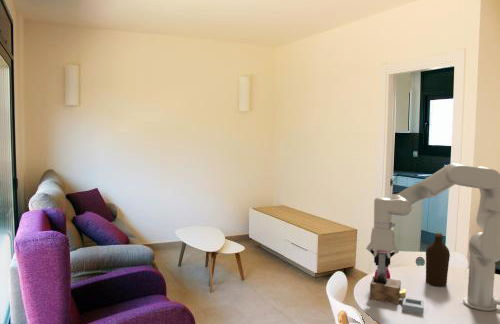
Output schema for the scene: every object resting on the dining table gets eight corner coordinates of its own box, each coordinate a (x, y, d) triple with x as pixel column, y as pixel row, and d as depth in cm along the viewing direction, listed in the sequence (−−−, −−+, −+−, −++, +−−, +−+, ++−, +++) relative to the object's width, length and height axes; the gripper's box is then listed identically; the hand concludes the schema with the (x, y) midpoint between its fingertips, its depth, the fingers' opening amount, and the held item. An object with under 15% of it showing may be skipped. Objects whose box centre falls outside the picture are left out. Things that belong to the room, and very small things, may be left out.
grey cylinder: (386, 282, 183) (387, 252, 182) (385, 285, 179) (386, 254, 178) (377, 281, 185) (378, 251, 183) (376, 284, 181) (377, 253, 180)
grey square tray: (423, 306, 172) (423, 300, 172) (423, 314, 165) (423, 308, 165) (403, 303, 176) (403, 297, 175) (402, 310, 168) (402, 304, 168)
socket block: (400, 295, 184) (400, 280, 183) (398, 304, 175) (399, 288, 174) (372, 290, 189) (373, 276, 188) (369, 298, 180) (370, 283, 179)
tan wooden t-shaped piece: (405, 297, 180) (405, 289, 180) (404, 301, 176) (405, 292, 176) (388, 294, 183) (388, 286, 183) (387, 298, 179) (387, 289, 179)
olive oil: (441, 289, 192) (444, 237, 190) (420, 282, 200) (422, 232, 198) (451, 284, 199) (454, 234, 196) (430, 277, 207) (433, 229, 205)
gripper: (403, 225, 180) (402, 265, 181) (364, 221, 187) (364, 260, 188) (402, 228, 173) (401, 270, 174) (362, 225, 180) (361, 265, 181)
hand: (382, 265), depth 181 cm, fingers closed on grey cylinder, 4 cm apart
